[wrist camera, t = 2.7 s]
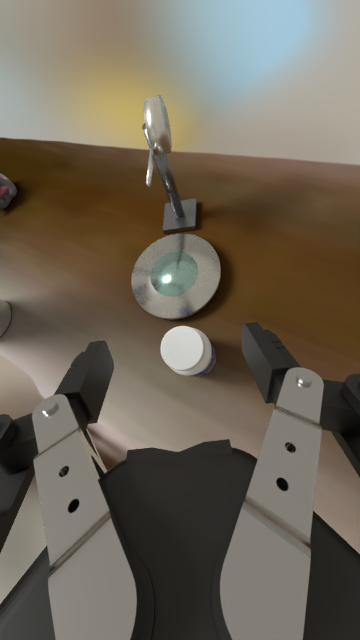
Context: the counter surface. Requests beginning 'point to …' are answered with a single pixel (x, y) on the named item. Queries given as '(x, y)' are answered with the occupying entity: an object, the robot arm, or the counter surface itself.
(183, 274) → the dish
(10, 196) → the grey and red figurine
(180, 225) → the dial stand
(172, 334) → the pill bottle
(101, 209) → the counter surface
